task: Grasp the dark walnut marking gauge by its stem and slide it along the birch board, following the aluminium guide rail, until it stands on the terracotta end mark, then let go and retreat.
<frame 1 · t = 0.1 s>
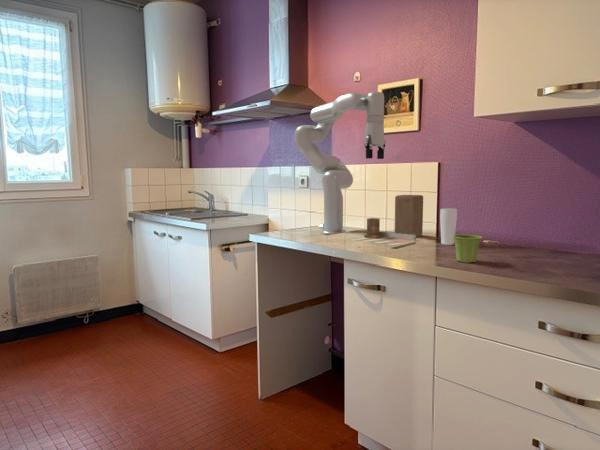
hand: (374, 158, 201), 37 cm above the worktop, tool pointing down, fingers open, 9 cm apart
drinking glass: (447, 244, 185), on the worktop
plant pot: (466, 261, 150), on the worktop
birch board: (382, 243, 189), on the worktop
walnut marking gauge: (373, 237, 196), point 1 cm above the worktop, touching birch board
wooden block: (408, 239, 201), on the worktop
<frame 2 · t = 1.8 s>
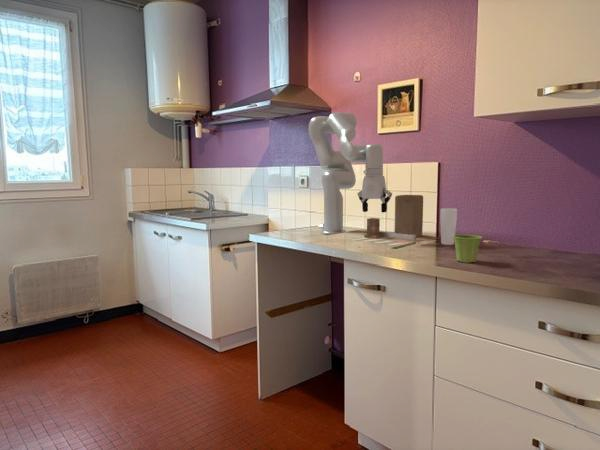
hand: (374, 211, 194), 13 cm above the worktop, tool pointing down, fingers open, 9 cm apart
nothing on the worktop moved.
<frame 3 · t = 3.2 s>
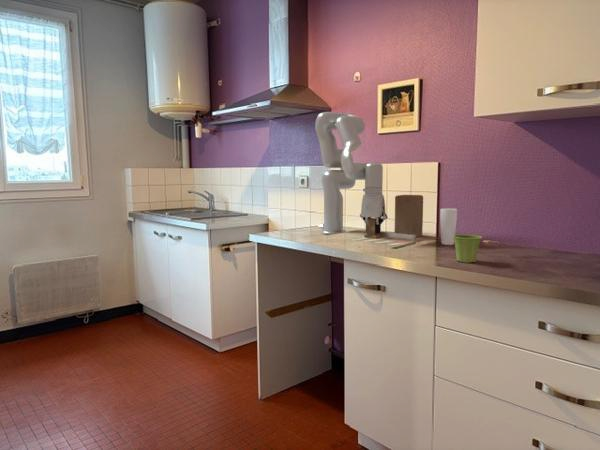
hand: (373, 232, 195), 4 cm above the worktop, tool pointing down, fingers closed on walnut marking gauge, 4 cm apart
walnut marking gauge: (373, 237, 196), point 2 cm above the worktop, touching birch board, gripper
everything else where it was.
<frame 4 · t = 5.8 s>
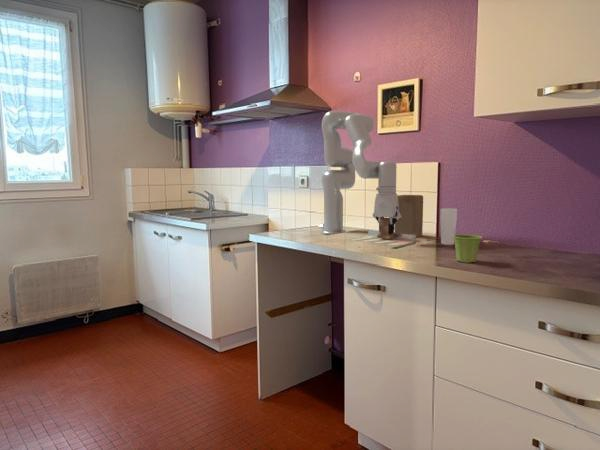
hand: (386, 232, 191), 4 cm above the worktop, tool pointing down, fingers closed on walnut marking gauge, 4 cm apart
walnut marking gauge: (386, 237, 191), point 2 cm above the worktop, touching gripper
everything else where it was.
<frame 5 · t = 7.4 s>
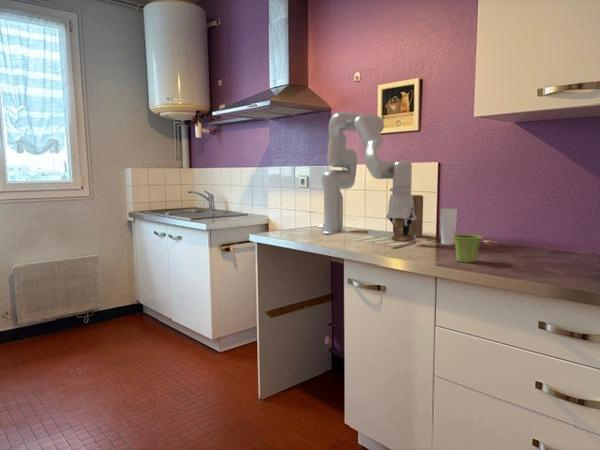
hand: (400, 234, 186), 4 cm above the worktop, tool pointing down, fingers closed on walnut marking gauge, 4 cm apart
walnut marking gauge: (400, 239, 186), point 2 cm above the worktop, touching gripper
everything else where it was.
when the fingers open (4 cm above the worktop, at t = 8.5 s): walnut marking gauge stays where it is, resting on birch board.
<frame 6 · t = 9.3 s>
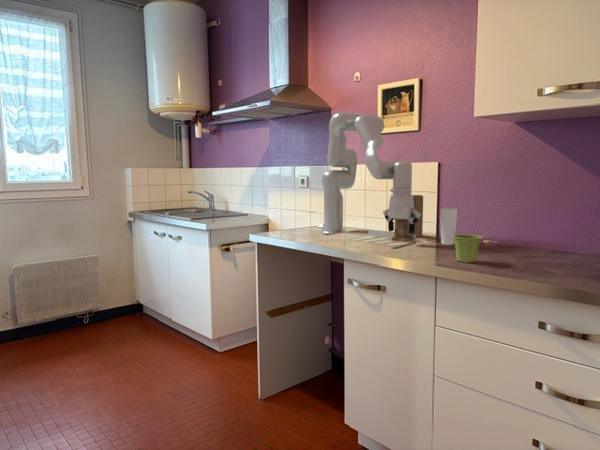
hand: (401, 232, 186), 5 cm above the worktop, tool pointing down, fingers open, 9 cm apart
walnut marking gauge: (400, 240, 186), point 2 cm above the worktop, touching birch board
everything else where it was.
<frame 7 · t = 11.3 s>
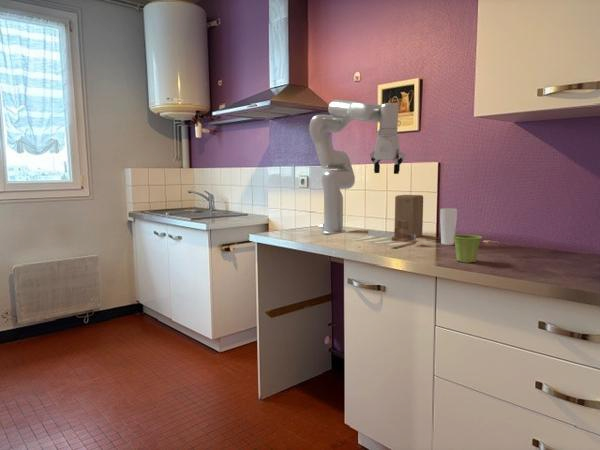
hand: (386, 173, 190), 30 cm above the worktop, tool pointing down, fingers open, 9 cm apart
nothing on the worktop moved.
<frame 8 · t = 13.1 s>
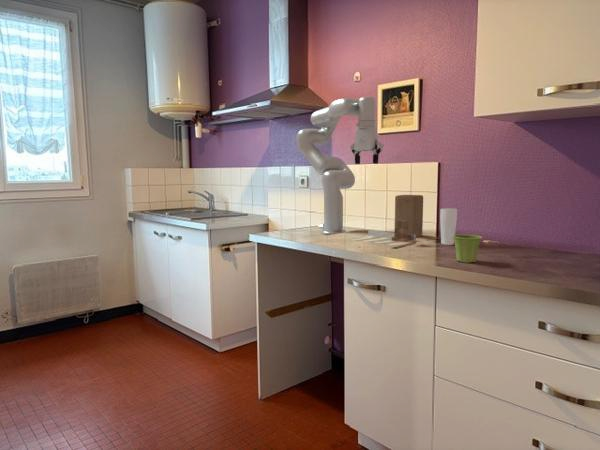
hand: (366, 163, 200), 34 cm above the worktop, tool pointing down, fingers open, 9 cm apart
nothing on the worktop moved.
at the end: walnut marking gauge 0.6 cm from the target spot on the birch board, point 1.6 cm above the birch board's base; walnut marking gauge tilted 0°; the gripper is holding nothing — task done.
